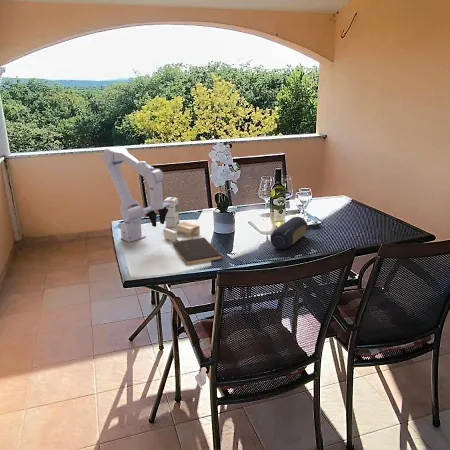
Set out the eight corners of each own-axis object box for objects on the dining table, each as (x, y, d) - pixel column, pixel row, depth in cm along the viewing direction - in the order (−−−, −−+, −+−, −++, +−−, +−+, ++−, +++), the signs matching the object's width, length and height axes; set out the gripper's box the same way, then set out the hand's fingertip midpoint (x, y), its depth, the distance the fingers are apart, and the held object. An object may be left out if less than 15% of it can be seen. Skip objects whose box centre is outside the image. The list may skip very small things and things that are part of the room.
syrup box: (176, 227, 222) (174, 200, 218) (165, 226, 224) (163, 199, 219) (179, 223, 228) (178, 197, 223) (168, 223, 229) (167, 196, 224)
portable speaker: (288, 253, 188) (289, 232, 184) (267, 249, 193) (268, 228, 189) (309, 235, 208) (310, 216, 204) (290, 232, 213) (291, 213, 209)
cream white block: (178, 243, 201) (177, 234, 199) (164, 237, 207) (163, 229, 206) (184, 241, 203) (183, 232, 201) (170, 235, 210) (169, 227, 208)
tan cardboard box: (177, 244, 200) (177, 235, 199) (162, 238, 208) (161, 229, 206) (201, 235, 211) (201, 226, 209) (186, 229, 218) (185, 221, 217)
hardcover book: (186, 266, 178) (185, 261, 178) (172, 246, 199) (172, 242, 198) (222, 259, 184) (222, 254, 183) (205, 241, 204) (205, 237, 203)
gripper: (148, 201, 186) (150, 231, 190) (174, 194, 195) (176, 222, 200) (138, 198, 190) (141, 227, 195) (164, 192, 200) (166, 219, 205)
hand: (158, 224), depth 198 cm, fingers open, 4 cm apart
